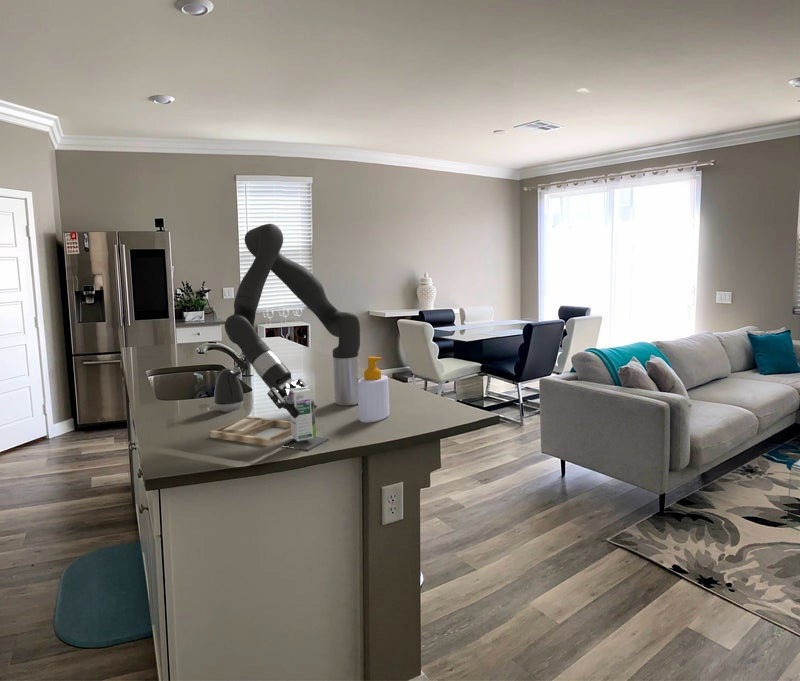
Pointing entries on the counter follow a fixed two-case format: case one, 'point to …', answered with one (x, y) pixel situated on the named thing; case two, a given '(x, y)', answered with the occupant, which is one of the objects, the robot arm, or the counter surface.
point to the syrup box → (303, 414)
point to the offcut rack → (255, 432)
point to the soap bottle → (373, 393)
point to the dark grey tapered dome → (228, 391)
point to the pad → (306, 443)
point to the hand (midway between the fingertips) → (306, 412)
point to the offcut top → (243, 426)
